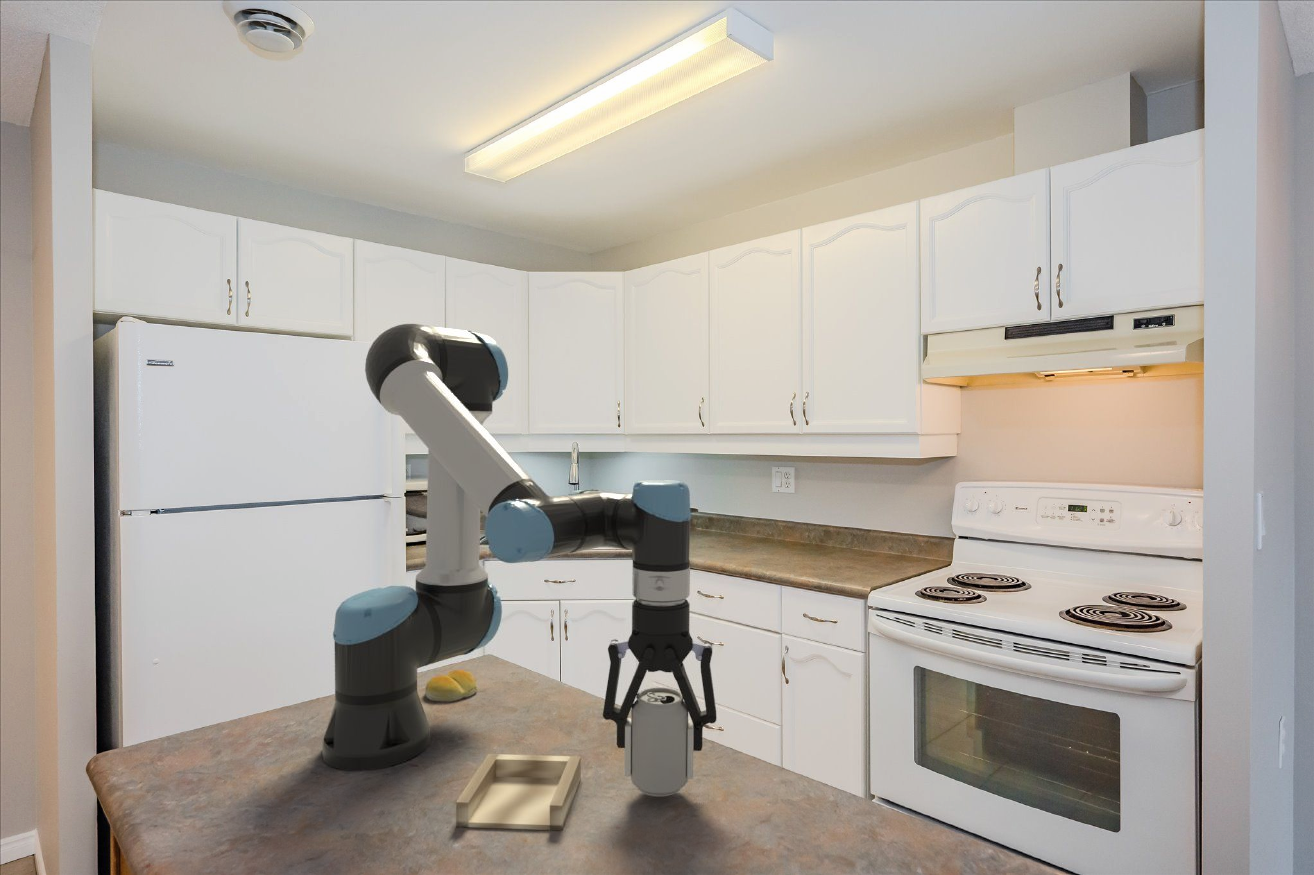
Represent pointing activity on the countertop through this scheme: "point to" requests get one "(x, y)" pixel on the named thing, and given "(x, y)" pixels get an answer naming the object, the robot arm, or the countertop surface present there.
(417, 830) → the countertop surface
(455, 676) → the bread roll
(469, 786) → the can rest
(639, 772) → the can
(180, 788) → the countertop surface
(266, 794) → the countertop surface
